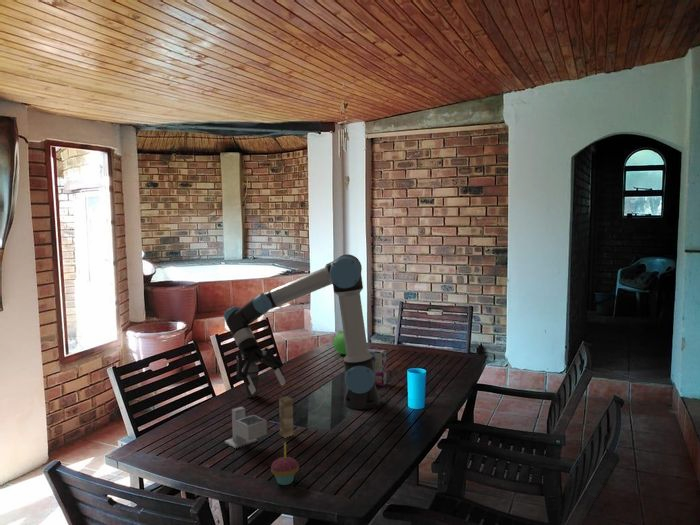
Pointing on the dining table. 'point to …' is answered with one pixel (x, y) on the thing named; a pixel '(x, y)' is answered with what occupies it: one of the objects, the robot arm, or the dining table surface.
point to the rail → (286, 416)
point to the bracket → (246, 428)
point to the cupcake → (284, 469)
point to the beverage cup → (252, 378)
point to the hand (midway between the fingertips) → (269, 388)
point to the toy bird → (340, 342)
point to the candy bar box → (380, 366)
